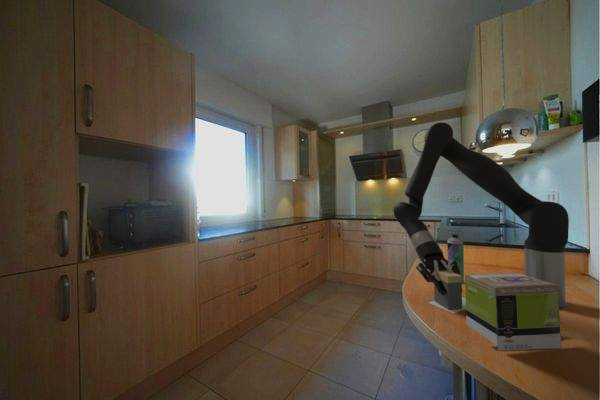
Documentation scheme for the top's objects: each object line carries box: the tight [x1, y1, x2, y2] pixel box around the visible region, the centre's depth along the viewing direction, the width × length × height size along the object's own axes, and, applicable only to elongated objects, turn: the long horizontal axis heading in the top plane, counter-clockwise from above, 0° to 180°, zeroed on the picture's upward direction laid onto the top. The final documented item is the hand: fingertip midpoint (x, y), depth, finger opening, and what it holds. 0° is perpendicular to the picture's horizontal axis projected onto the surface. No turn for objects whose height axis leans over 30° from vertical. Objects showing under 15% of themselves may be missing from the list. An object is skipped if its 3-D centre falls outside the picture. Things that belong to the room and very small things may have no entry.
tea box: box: [464, 272, 562, 352], centre depth 57 cm, size 15×10×15 cm, turn 92°
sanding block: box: [433, 270, 463, 310], centre depth 73 cm, size 4×6×10 cm
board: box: [427, 296, 466, 314], centre depth 74 cm, size 14×8×1 cm, turn 117°
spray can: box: [446, 233, 465, 285], centre depth 95 cm, size 6×6×20 cm
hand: (452, 293), depth 71 cm, fingers closed on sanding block, 4 cm apart
